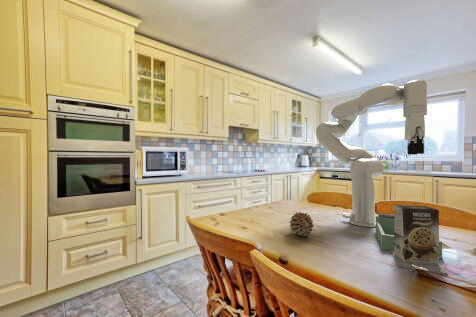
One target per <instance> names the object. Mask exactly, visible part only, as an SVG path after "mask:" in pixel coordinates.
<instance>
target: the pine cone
mask: <svg viewBox="0 0 476 317" xmlns="http://www.w3.org/2000/svg"><path fill="white" fill-rule="evenodd" d="M313 223H314V219H312V216H310V214H308V212H306V213H303V212H301V211H299V212H296V213H294V214H293V215H292V216H291V217H290V220H289V224H290V225H289V227H290V229H291V231H292V232H293V233H294V234H295V235H297V236H301V237H306V236H309V235H311V233H312V232H314V230H313V228H315V226H314V224H313Z"/></svg>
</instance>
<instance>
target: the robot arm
mask: <svg viewBox="0 0 476 317" xmlns="http://www.w3.org/2000/svg"><path fill="white" fill-rule="evenodd" d="M427 84H428V82H426V80H424V79H414V80H410V81H408V82H406V83H404V84H403V85H402V86H399V85H395V84H391V83H385V84H382V85H379V86H376V87H373V88H370V89H368V90H365V92H364V93H361V95H360V96H359V97H356V98H353V99H349V100H347V101H344V102H342V103H340V104H339V103H338V104H337V105H335V106H334V107H333V108H332V111H331V114H332V117H333V118H334V119H336V120H338V121H337V122H333V121H332V122H331V121H325V122H321V123H319V124H318V125H317V126H316V130H315V131H316V132H315V137H316V139H317V141H318V143H319V144H320V145H321V146H322V148H324V149H326V150H327V151H328V152H329V153H330V154H331V155H332V156H333V157H335V158H336V159H337V160H338V161H339V162H340V163H341V164H344V165H350V167H349V173H350V178H351V191H352V192H351V197H352V198H351V199H352V200H351V201H352V203H351V206H352V207H351V208H352V212H351V213H350V212H349V213H346V212H345V213H344V212H343V213H342V218H345V219H348V222H349V224H352V225H354V226H358V227H362V228H363V227H364V228H376V211H375V210H376V208H375V207H376V205H375V200H376V198H375V196H376V195H375V192H376V190H375V184H374V180H373V178H378V177H380V176H382V175H383V174H384V171H385V166H384V164H383V162H382V161H381V160H380V159H378V158H377V157H376V156H374V155H373V154H371V153H370V152H368V151H367V150H366V149H364V148H362V147H359V146H351V145H348V144H347V143H345V142H344V141H342V139H340V138H342V137H344V136H345V134H346V133H347V132H348V131H349V129H350V128H351V127H352V126H353V124H354V123H355V122H356V119H357V117H358V116H361V115H364V114H366V113H367V112H368V110H369V108H370V107H372V106H376V105H378V104H382V103H385V104H388V105H389V104H390V105H393V106H396V105H401V104H402V105H403V106H402V107H403V108H402V110H403V111H402V114H403V118H405V120H404V121H405V122H404V140H405V141H407V148H406V149H407V155H409V156H411V155H418V154H419V155H421V154H422V155H423V154H424V153H425V140H424V139H425V136H426V123H425V120H426V119H425V116H427V115H428V93H427V90H428V89H427V87H428V85H427Z"/></svg>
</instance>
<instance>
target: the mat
mask: <svg viewBox="0 0 476 317" xmlns="http://www.w3.org/2000/svg"><path fill="white" fill-rule="evenodd" d="M390 252H391V255H392V257H393V259H394V261H395V263H396V266H397V267H399V268H404V269H409V270H414V271H415V270H416V269H415V267H413V266H412V264H414V263H405V262H403V261H402V260H401V259H399V258H398V257H397V256H396V255H395V254H394V250H390ZM414 265H416V266H418V267H423V268H426V269H428V270H429V271H432V272H433V273H432V272H431V273H432V274H439V275H442V276H443V275H444V276H449V272H448V271H447V270H446V269H445V268H444V267H443V266H442V265H441V263H439V265H427V264H414ZM416 271H417V270H416Z"/></svg>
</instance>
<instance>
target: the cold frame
mask: <svg viewBox="0 0 476 317" xmlns="http://www.w3.org/2000/svg"><path fill="white" fill-rule="evenodd" d="M375 221H376V227H375V234H376V236H377V240H378V241H379V242H378V243H379V245H380V248H381V250H384V251H385V250H386V251H391V250H394V231H395V225H394V224H395V214H387V213H378V214H377V215H375ZM439 257H441V258H440V259H443V242H442V241H441V240H440V239H439Z"/></svg>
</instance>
